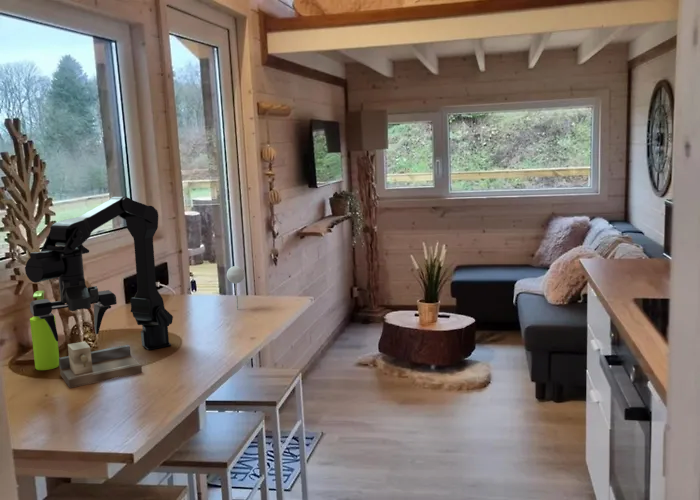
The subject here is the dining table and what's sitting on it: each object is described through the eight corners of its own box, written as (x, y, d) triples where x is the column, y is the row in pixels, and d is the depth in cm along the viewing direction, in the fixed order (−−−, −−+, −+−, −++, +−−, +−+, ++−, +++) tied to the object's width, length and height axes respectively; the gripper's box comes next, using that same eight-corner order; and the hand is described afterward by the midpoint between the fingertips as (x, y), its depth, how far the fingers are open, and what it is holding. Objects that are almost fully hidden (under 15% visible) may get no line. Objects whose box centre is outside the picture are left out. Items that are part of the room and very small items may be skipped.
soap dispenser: (32, 372, 169) (23, 295, 165) (37, 364, 175) (29, 289, 172) (57, 369, 170) (49, 293, 167) (61, 361, 177) (53, 287, 173)
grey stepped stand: (129, 361, 175) (128, 344, 175) (142, 372, 166) (140, 354, 165) (60, 375, 166) (58, 357, 165) (69, 388, 157) (67, 369, 156)
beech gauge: (86, 364, 168) (84, 341, 167) (95, 374, 160) (93, 350, 159) (70, 367, 165) (67, 344, 164) (77, 377, 158) (75, 353, 157)
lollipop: (226, 308, 228) (224, 265, 225) (243, 306, 230) (241, 263, 228) (231, 312, 222) (228, 268, 220) (248, 310, 224) (246, 266, 222)
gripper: (34, 285, 148) (41, 352, 151) (119, 274, 158) (125, 337, 161) (26, 277, 157) (33, 341, 160) (107, 267, 168) (113, 327, 170)
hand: (77, 337), depth 162 cm, fingers open, 9 cm apart
